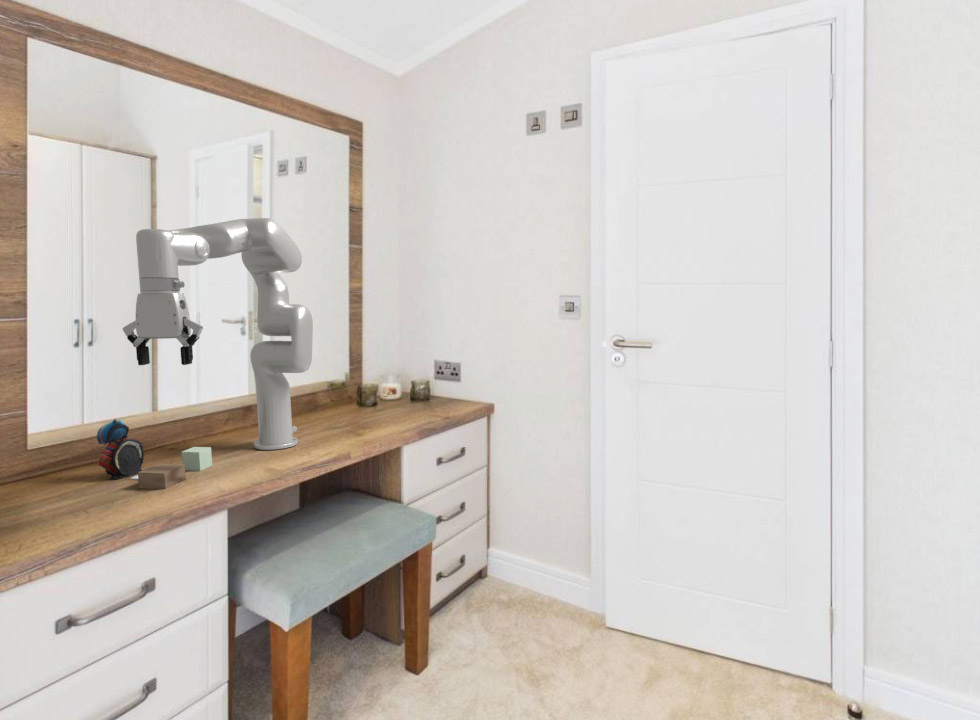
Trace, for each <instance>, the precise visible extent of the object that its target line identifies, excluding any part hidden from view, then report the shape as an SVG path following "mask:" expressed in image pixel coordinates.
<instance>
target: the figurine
mask: <svg viewBox="0 0 980 720" xmlns="http://www.w3.org/2000/svg"><path fill="white" fill-rule="evenodd" d="M129 431H130V428H129V426H128V425H127V424H126V423H124V422H123V421H122V420H121V419H118V418H116V417H115V418H114V419H113V420H112V421H110V422H109V423H106V424H104V425H101V426H100V428H99V429H98V430H97V434H96V440H97V444H99V445H104V446H105V445H107V446H106V447H105V448H104V450H103V451H102V453H101V455H100V457H99V459H98V463H97V464H98V466H99V467H102V468H103V469H104V470H105V472H106V475H110V479H111V480H112V481H116V480H122V479H125V478H128V477H134V476H136V475H138V472H140V471H143V470H142V465H143V463H144V459H145V455H144V453H145V452H144V447H143V444H142V443H141V442H140V440H137V439H134V438H133V439H132V438H129ZM127 438H128V439H127Z"/></svg>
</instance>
